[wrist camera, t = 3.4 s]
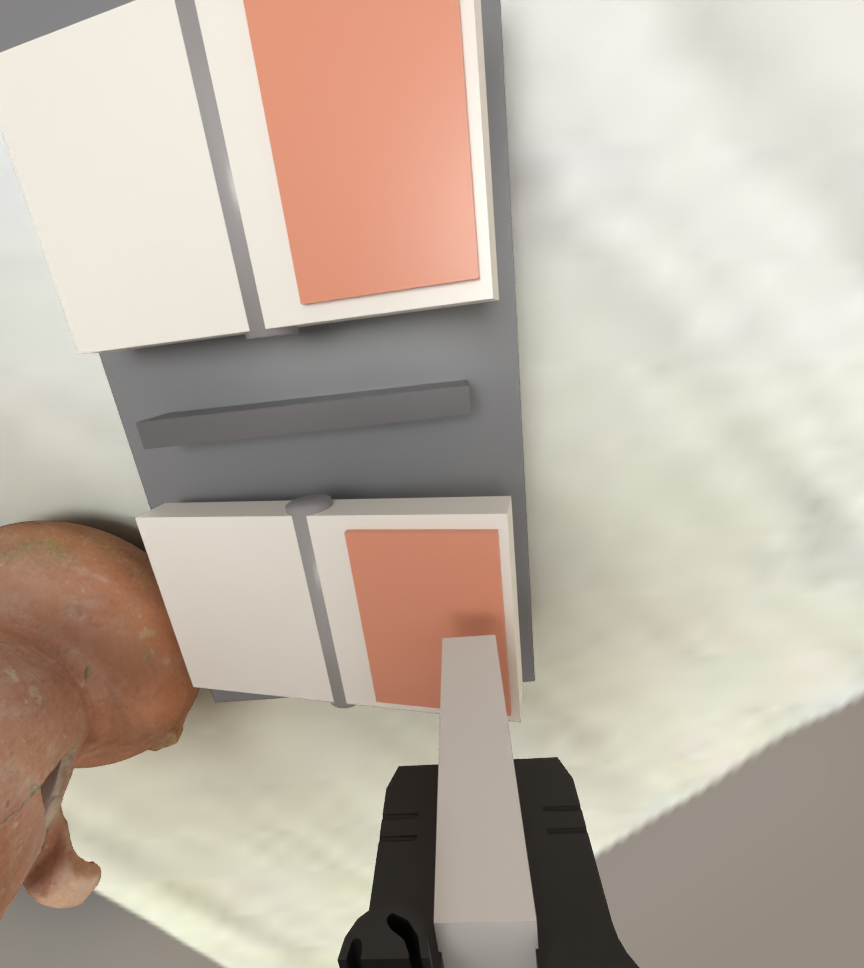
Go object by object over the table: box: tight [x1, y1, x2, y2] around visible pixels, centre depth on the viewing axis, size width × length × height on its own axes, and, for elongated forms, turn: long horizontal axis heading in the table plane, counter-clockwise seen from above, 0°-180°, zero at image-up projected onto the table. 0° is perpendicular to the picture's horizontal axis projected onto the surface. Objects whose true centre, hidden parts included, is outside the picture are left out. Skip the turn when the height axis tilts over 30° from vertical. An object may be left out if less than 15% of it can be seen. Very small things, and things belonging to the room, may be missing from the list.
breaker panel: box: [0, 0, 535, 702], centre depth 19 cm, size 16×28×7 cm, turn 6°
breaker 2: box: [135, 494, 523, 722], centre depth 17 cm, size 14×8×2 cm, turn 96°
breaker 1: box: [0, 0, 499, 354], centre depth 13 cm, size 14×8×2 cm, turn 96°
